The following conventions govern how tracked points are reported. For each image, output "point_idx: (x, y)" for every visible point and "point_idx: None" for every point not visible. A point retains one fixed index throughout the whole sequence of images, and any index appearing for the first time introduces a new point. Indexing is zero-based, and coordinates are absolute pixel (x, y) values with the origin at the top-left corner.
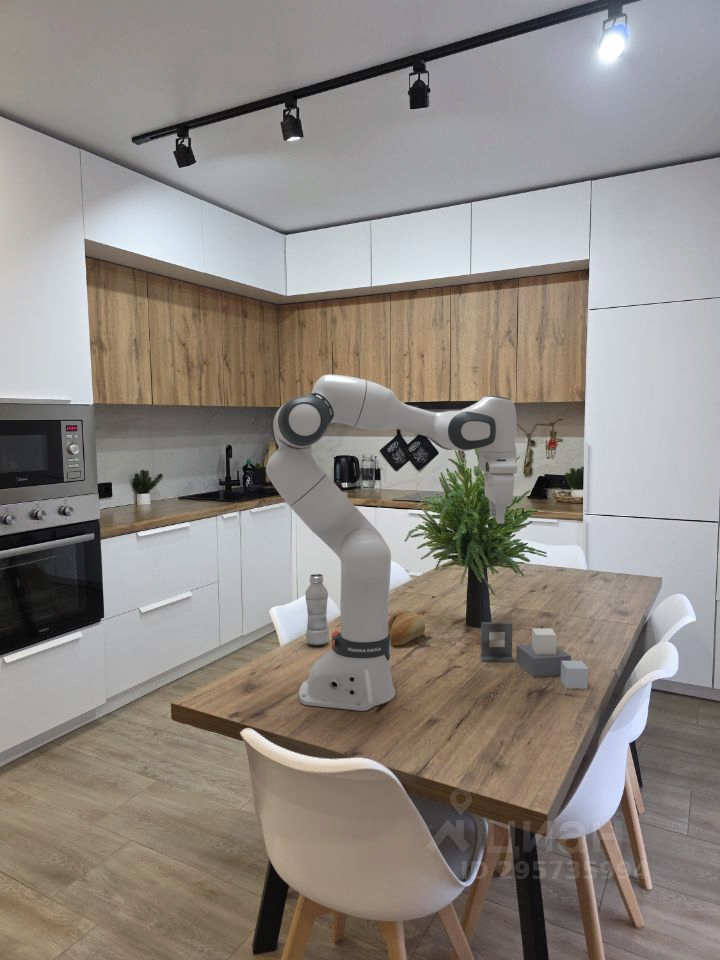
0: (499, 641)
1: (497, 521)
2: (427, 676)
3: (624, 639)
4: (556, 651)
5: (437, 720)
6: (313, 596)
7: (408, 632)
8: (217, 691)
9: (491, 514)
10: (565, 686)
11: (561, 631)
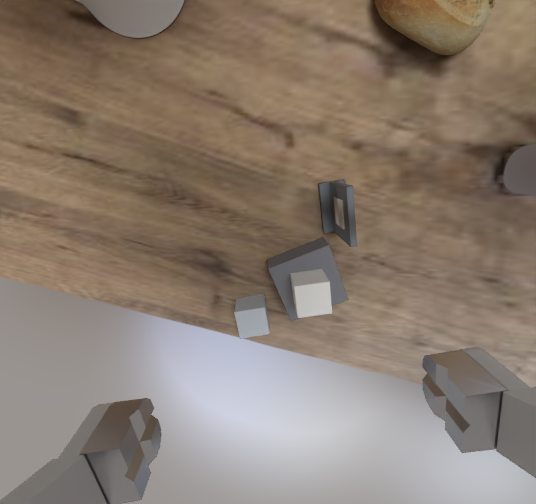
0: (338, 216)
1: (91, 416)
2: (236, 90)
3: None
4: None
5: (77, 124)
6: None
7: (392, 14)
8: None
9: (440, 369)
10: (239, 298)
11: (467, 308)
